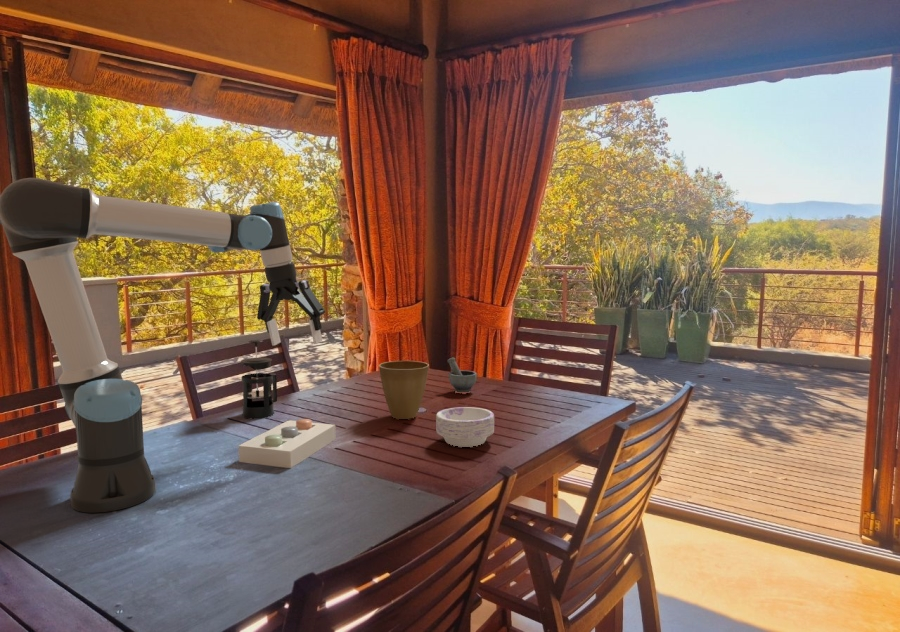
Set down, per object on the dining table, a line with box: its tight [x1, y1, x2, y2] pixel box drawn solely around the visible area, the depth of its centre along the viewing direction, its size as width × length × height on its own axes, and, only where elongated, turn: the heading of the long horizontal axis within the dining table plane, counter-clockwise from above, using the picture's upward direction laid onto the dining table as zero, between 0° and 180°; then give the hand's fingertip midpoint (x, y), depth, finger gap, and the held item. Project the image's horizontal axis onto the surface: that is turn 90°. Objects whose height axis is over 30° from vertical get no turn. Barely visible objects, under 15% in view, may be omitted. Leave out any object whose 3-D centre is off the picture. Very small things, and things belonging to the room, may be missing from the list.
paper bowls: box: [435, 406, 495, 448], centre depth 158 cm, size 15×15×8 cm
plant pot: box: [378, 360, 430, 420], centre depth 181 cm, size 15×15×16 cm
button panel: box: [238, 419, 337, 469], centre depth 152 cm, size 22×14×4 cm, turn 163°
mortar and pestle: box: [447, 357, 478, 392], centre depth 213 cm, size 11×9×12 cm
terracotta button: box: [295, 418, 313, 430], centre depth 158 cm, size 4×4×4 cm
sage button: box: [265, 435, 282, 447], centre depth 145 cm, size 4×4×4 cm
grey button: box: [281, 426, 298, 438], centre depth 151 cm, size 4×4×4 cm
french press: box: [240, 339, 278, 420], centre depth 183 cm, size 12×9×23 cm
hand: (297, 343), depth 158 cm, fingers open, 13 cm apart
